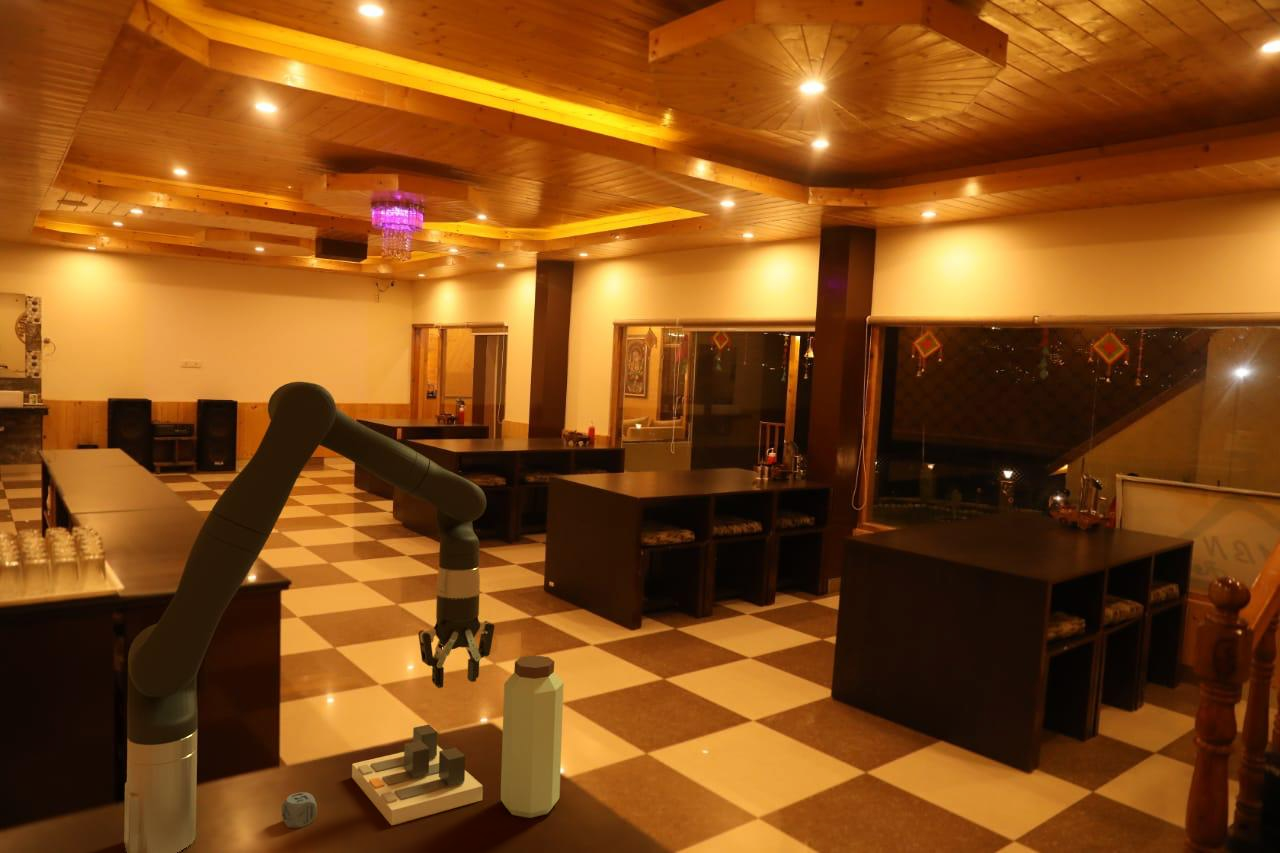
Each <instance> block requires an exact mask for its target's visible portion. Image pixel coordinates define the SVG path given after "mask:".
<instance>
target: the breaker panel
mask: <svg viewBox="0 0 1280 853" xmlns="http://www.w3.org/2000/svg"><path fill="white" fill-rule="evenodd" d="M443 750H444V749H443V748H441V747H440V746H439V745H438V744H437V756H434V757H430V758H429V774H425V775H421V776H417V777H413V778H412V777H411V776H410V775H409V774H408V773H407V772H406V771H405V770H404V751H401V752H398V753H397V752H396V753H394V754H390V755H389V754H388V755H384V756H381V757H376V758H372V759H368V760H362V761H359V762H354V763H352V765H351V769H352V770H351V778H352V779H353V781H354V782H355V783H356V784H357V785H358V787H359V788H360V789H361V791H362V792H363V793H364V794H365V795H366V797H368V799H369V800H370V801H371V803H372V804H373V805H374V806H375V808H377V810H378V812H380V813H381V815H382V816H383V817H384V818H385V820H386V821H387V822H388V823H389V824H390V826H394V825H399V824H403V823H406V822H409V821H413V820H416V819H420V818H424V817H427V816H430V815H434V814H437V813H441V812H445V811H448V810H451V809H455V808H459V807H462V806H466V805H470V804H473V803H477V802H480V801H483V793H484V790H483V789H484V788H483V787H484V786H483V784H482V783H480V782H479V781H478V780H477V779H476V778H475V777H474V776H473V775H471V774H470V773H469V772H468V771H467V770H466V769H465V780H464V782H461V783H457V784H453V785H449V786H448V785H447V784H446V783H445V782H444V781H443V780H442V779H441V778H440V777H439V751H443Z"/></svg>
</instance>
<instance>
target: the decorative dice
mask: <svg viewBox="0 0 1280 853" xmlns="http://www.w3.org/2000/svg"><path fill="white" fill-rule="evenodd" d="M317 807H318V805H317V802H316V799H315V797H314V796H313V794H312V793H309V792H306V791H305V792H303V791H302V792H295V793H292V794H290V795H288V796H287V798H286V799H285V800H284V801H283V803H282V805H281V817H282V820H283V823H284V825H285V826H286V827H288V828H290V829H299V828H304V827H307V826H308V825H310V824H311V823H312V822H313V821H314V820H315V818H316V815H317V814H318V813H317V812H318V808H317Z"/></svg>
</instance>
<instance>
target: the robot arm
mask: <svg viewBox="0 0 1280 853" xmlns="http://www.w3.org/2000/svg"><path fill="white" fill-rule="evenodd" d="M267 404H268V405H267V413H268V417H269V421H270V422H269V424H268V426H267V428H266V431H265V433H264V435H263V438H262V439H261V441H260V443H259V445H258V447H257V449H256V451H255V453H254V454H253V456H252V457H251V458H250V460H249V461H248V463H247V464H246V465H245V466H244V468H243V469H241V471H240V472H239V473H238V474H237V476H235V478H234V479H233V480H232V481H231V483H229V485H228V486H227V487H226V488H225V490H224V491H223V492H222V493H221V495H220V496H219V497H218V499H217V501H216V502H215V504H214V505H213V507H212V508H211V510H210V511H209V513H208V516H207V517H206V519H205V521H204V522H203V524H202V526H201V528H200V529H199V532H198V534H197V536H196V538H195V540H194V542H193V545H192V547H191V550H190V552H189V555H188V557H187V560H186V562H185V565H184V568H183V571H182V574H181V578H180V580H179V583H178V586H177V589H176V590H175V593H174V596H173V597H172V599H171V601H170V603H169V605H168V606H167V607H166V610H165V611H164V612H163V614H162V615H161V618H160V619H159V620H158V622H157V623H155V624H152V625H149V626H148V627H145V629H143V630H142V631H140V633H138V635H136V637H134V640H133V641H132V643H131V645H130V647H129V650H128V656H127V707H126V708H127V714H126V715H127V744H126V745H127V749H126V750H127V755H126V756H127V757H126V759H127V760H126V764H127V766H126V782H125V783H124V820H123V821H124V826H123V827H124V828H123V830H124V831H123V832H124V833H123V835H124V836H123V844H125V845H124V849H125V848H126V849H125V852H127V853H177V852H178V853H180V852H182V851H181V850H183V849H184V848H186V847H187V848H189V847H190V846H191V845H192V844H193V843H194V842H195V840H196V838H195V837H196V835H197V834H196V833H197V832H196V828H197V780H198V779H197V775H198V774H197V770H198V768H197V767H198V766H197V765H198V723H199V722H198V721H199V718H198V712H199V710H198V696H197V694H198V693H197V692H198V691H197V685H198V684H197V683H198V682H197V681H198V680H197V677H198V676H197V674H198V672H199V670H200V667H201V665H202V662H203V660H204V657H205V655H206V652H207V650H208V647H209V645H210V643H211V641H212V639H213V636H214V634H215V631H216V629H217V627H218V624H219V622H220V620H221V618H222V616H223V615H224V613H225V611H226V609H227V608H228V606H229V604H230V602H231V601H232V600H233V598H234V597H235V595H236V594H237V592H238V590H239V588H240V587H241V586H242V583H243V582H244V581H245V579H246V577H247V576H248V574H249V573H250V570H251V569H252V567H253V566H254V564H255V562H256V560H257V559H258V557H259V556H260V553H261V552H262V550H263V548H264V547H265V545H266V543H267V541H268V539H269V537H270V535H271V534H272V532H273V530H274V527H275V526H276V523H277V522H278V520H279V518H280V516H281V513H282V512H283V510H284V508H285V505H286V503H287V502H288V500H289V498H290V495H291V494H292V490H293V489H294V486H295V484H296V483H297V481H298V478H299V476H300V475H301V473H302V471H303V469H304V468H305V466H306V465H307V463H308V462H309V461H310V459H311V458H312V456H313V455H314V453H315V451H316V450H317V449H318V447H319V446H320V447H323V448H325V449H328V450H330V451H332V452H334V453H336V454H338V455H340V456H342V457H343V458H345V459H347V460H349V461H351V462H352V463H354V464H356V465H358V466H359V467H361V468H363V469H364V470H366V471H368V472H369V473H371V474H372V475H374V476H375V477H378V479H380V480H382V481H383V482H385V483H387V484H389V485H391V486H393V487H394V488H396V489H398V490H399V491H402V492H404V493H405V494H407V495H409V496H412V497H413V498H416V499H419V500H421V501H423V502H424V501H425V502H427V503H429V504H430V505H431V506H433V507H435V518H436V525H437V532H438V536H439V537H438V538H439V550H438V551H439V557H438V558H439V559H438V560H439V561H438V573H437V578H436V587H435V588H436V609H435V611H436V613H435V614H436V615H435V616H436V619H435V620H436V623H435V625H434V626H433V628H432V629H429V630H424V629H420V630H419V631H418V634H417V635H418V639H419V640H418V642H419V648H420V654H421V661H422V662H423V663H424V664H425V665H426V666H428V667H431V671H432V672H431V682H432V684H433V685H434V686H435V687H436V688H438V689H442V688H444V679H445V678H444V671H445V668H444V664H445V661H446V659H447V658H448V657H449V656H450V653H451V651H452V650H455V649H458V648H462V649H463V648H465V649H466V650H465V651H467V654H468V657H469V658H468V659H467V680H468V681H469V682H471V683H475V682H476V681H477V679H478V678H479V675H480V660H482V659H483V658H484V657H486V658H487V657H489V656H490V654H491V650H492V649H491V648H492V643H493V637H494V631H495V625H494V624H493V623H491V622H490V621H487V620H485V621H483V622H480V620H479V615H480V590H481V589H480V588H481V587H480V584H481V578H480V567H479V566H480V540H479V538H478V536H477V535H476V533H475V532H474V526H473V521H475V520H477V519H479V518H481V516H482V515H483V514H484V512H485V511H486V507H487V498H486V495H485V492H484V491H483V489H482V488H481V487H480V486H478V485H477V484H476V483H474V482H472V481H470V480H469V479H466V478H465V477H462V476H460V475H458V474H456V473H454V472H452V471H450V470H449V469H446V468H443V467H442V466H441V465H439V464H437V463H436V462H435V461H433V460H431V459H430V458H428V457H426V456H425V455H423V454H421V453H419V452H418V451H416V450H414V449H413V448H411V447H409V446H407V445H405V444H403V443H401V442H399V441H397V440H395V439H393V438H390V437H389V436H386V435H384V434H383V433H380V432H378V431H376V430H374V429H372V428H369V427H368V426H366V425H364V424H362V423H360V422H358V421H356V420H355V419H354V418H351V417H350V416H349V415H347V414H346V413H344V412H343V411H342V410H340V409H339V408H338V407H337V405H336V402H335V399H334V397H333V395H332V394H331V392H329V390H327V389H326V387H323V386H322V385H319V384H317V383H313V382H309V381H293V382H289V383H285V384H283V385H281V386H280V387H278V388H277V389H276V390H274V392H273V393H272V394H271V395H270V397H269V400H268V403H267ZM478 632H479V633H480V639H479V641H478V642H479V644H477V643H476V640H475V636H476V635H477V633H478ZM435 636H436V638H437V639H438V642H437V644H436V645H435V646H436V647H435V649H434V650H435V652H434V653H433V647H432V643H433V642H434V638H435ZM193 841H194V842H193ZM190 844H191V845H190ZM189 845H190V846H189ZM188 846H189V847H188ZM187 848H186V849H187ZM184 850H185V849H184ZM184 850H183V851H184ZM179 851H180V852H179Z"/></svg>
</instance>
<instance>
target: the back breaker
mask: <svg viewBox="0 0 1280 853" xmlns="http://www.w3.org/2000/svg"><path fill="white" fill-rule="evenodd" d="M412 730H413V731H412V734H413V735H412V742H415V741H420V740H421V741H422V742H423V743H424V744H425V745H426V746H427V747H429V758H430V757H434V756H437V745H438V731H437V730H436V729H435V728H434V727H433V726H431V725H430V724H425V725H419V726H415V727H413V729H412Z"/></svg>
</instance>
